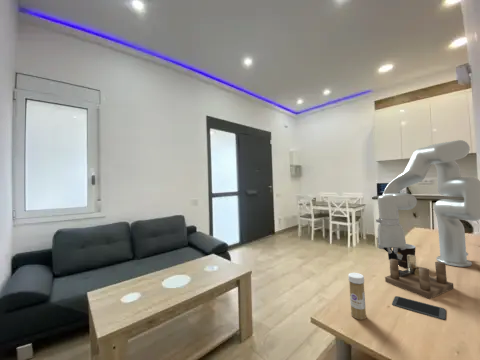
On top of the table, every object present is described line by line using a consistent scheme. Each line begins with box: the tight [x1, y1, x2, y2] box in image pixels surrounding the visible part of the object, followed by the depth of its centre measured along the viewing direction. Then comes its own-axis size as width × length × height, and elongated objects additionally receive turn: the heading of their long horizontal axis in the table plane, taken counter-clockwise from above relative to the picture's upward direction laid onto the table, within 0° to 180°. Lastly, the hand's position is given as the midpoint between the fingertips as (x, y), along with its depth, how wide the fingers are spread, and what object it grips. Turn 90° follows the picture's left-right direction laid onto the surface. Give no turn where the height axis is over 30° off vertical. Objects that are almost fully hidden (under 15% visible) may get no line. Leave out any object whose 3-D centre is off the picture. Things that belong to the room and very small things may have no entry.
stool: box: [384, 258, 454, 300], centre depth 89 cm, size 16×16×10 cm
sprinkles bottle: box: [347, 272, 367, 320], centre depth 72 cm, size 5×5×13 cm
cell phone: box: [391, 296, 447, 321], centre depth 74 cm, size 7×14×1 cm, turn 46°
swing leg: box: [399, 255, 418, 277], centre depth 95 cm, size 10×3×7 cm, turn 108°
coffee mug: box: [390, 243, 417, 269], centre depth 110 cm, size 12×9×10 cm
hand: (392, 261), depth 100 cm, fingers closed
